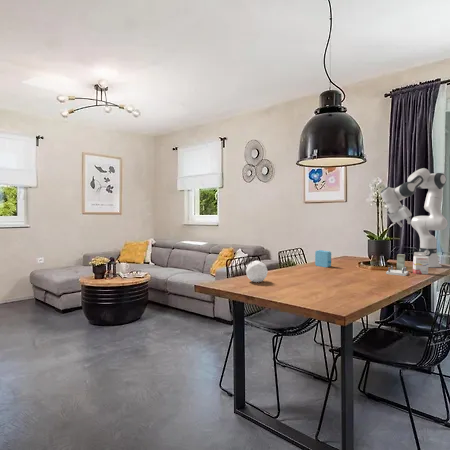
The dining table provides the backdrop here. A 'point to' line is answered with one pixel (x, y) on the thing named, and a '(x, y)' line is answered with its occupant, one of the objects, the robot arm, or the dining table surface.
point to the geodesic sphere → (256, 271)
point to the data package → (323, 258)
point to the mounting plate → (397, 272)
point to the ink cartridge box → (420, 263)
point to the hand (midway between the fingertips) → (406, 225)
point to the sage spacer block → (400, 261)
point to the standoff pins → (392, 269)
